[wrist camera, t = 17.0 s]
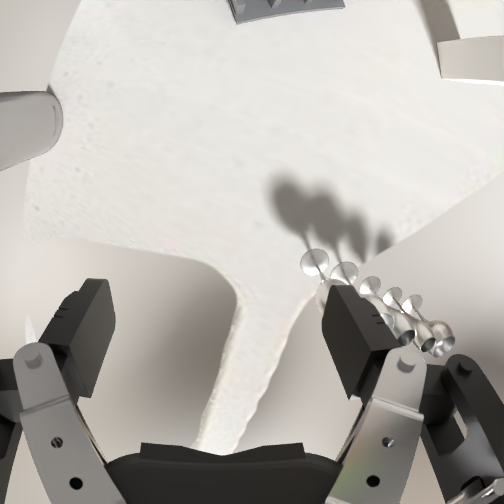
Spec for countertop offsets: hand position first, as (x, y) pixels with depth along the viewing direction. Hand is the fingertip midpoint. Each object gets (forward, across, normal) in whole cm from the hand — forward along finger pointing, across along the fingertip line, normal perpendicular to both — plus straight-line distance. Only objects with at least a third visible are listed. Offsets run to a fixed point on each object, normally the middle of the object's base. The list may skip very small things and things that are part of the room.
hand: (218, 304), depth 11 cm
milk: (+30, -33, -20) cm, 49 cm away
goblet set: (+30, -25, +18) cm, 44 cm away
